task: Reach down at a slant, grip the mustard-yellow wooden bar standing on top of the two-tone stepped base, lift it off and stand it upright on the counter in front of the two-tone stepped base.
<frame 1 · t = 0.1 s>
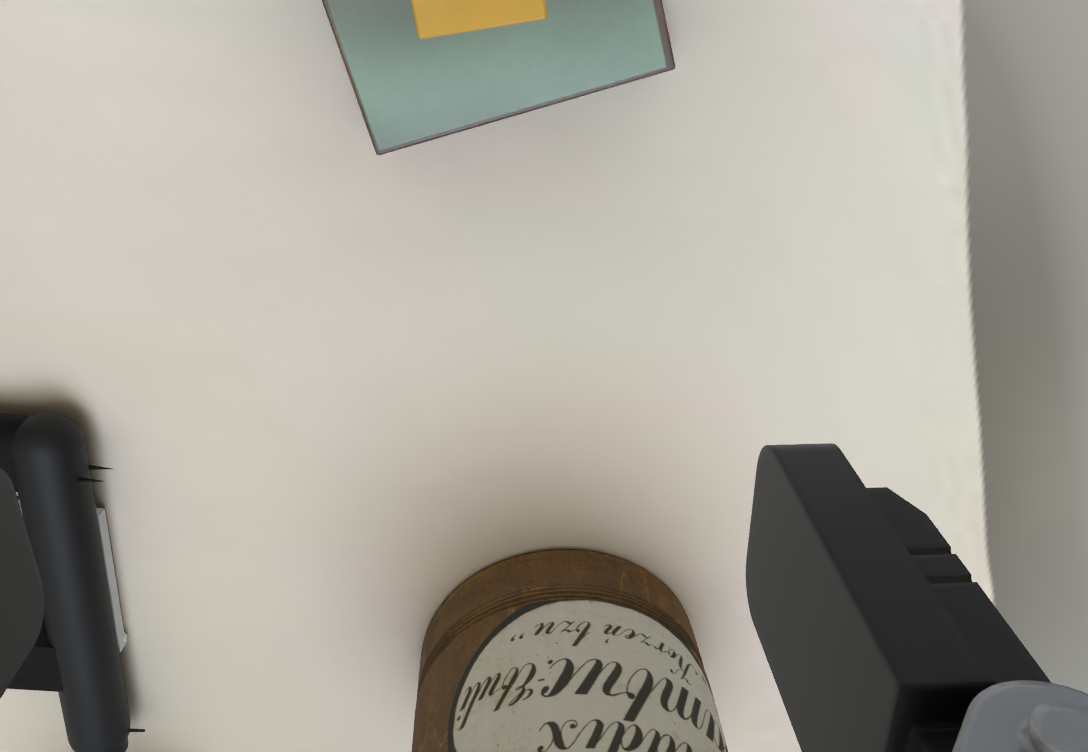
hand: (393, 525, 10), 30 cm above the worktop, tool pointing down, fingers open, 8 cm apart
wooden container: (558, 654, 50), on the worktop
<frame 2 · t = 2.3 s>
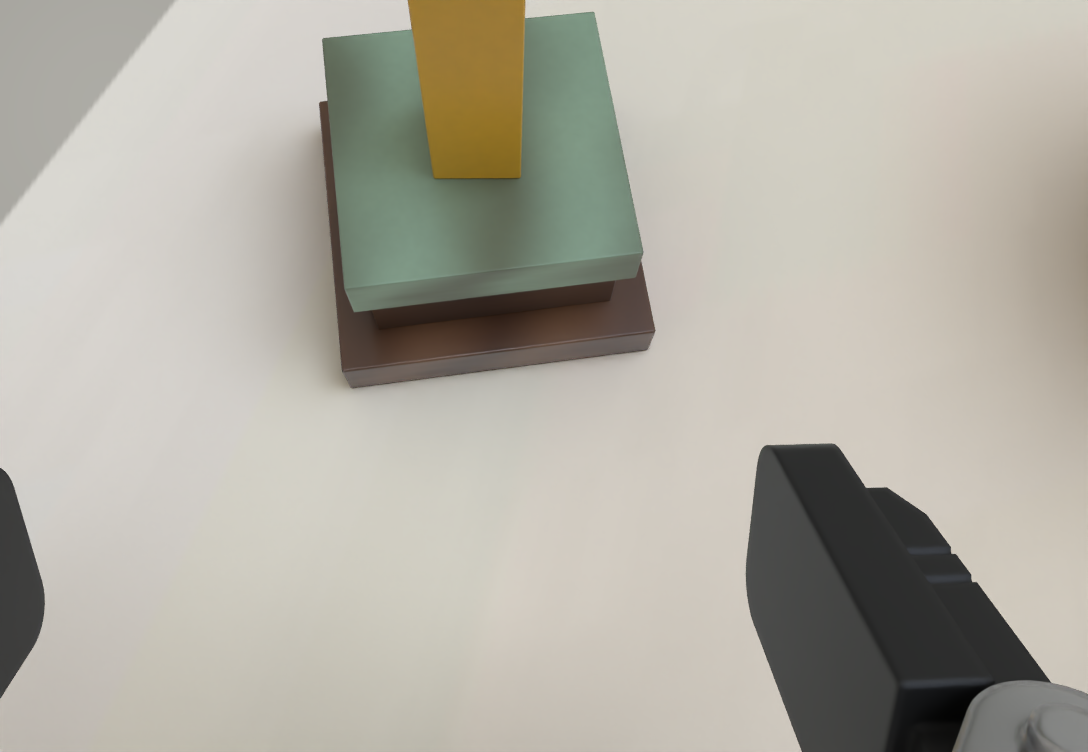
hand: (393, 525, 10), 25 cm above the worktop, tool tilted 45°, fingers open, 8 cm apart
bar: (477, 141, 32), point 7 cm above the worktop, touching two-tone stepped base
two-tone stepped base: (482, 235, 39), on the worktop
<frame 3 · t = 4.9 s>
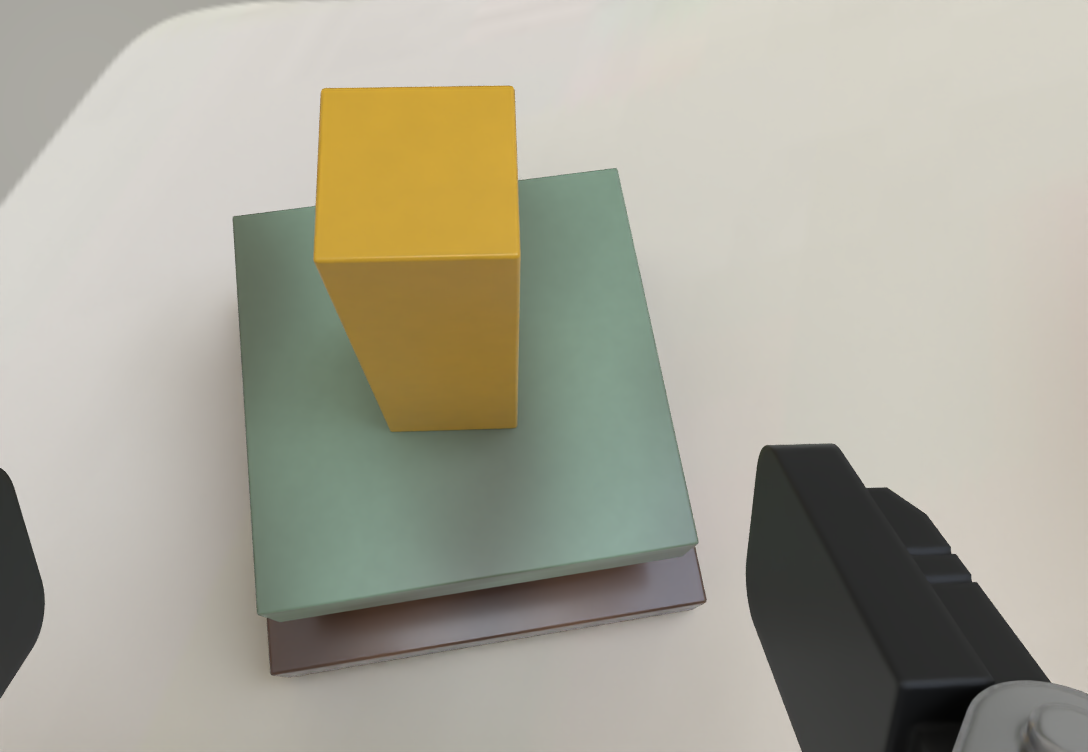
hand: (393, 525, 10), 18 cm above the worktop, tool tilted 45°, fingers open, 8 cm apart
bar: (453, 370, 22), point 7 cm above the worktop, touching two-tone stepped base
two-tone stepped base: (466, 446, 29), on the worktop
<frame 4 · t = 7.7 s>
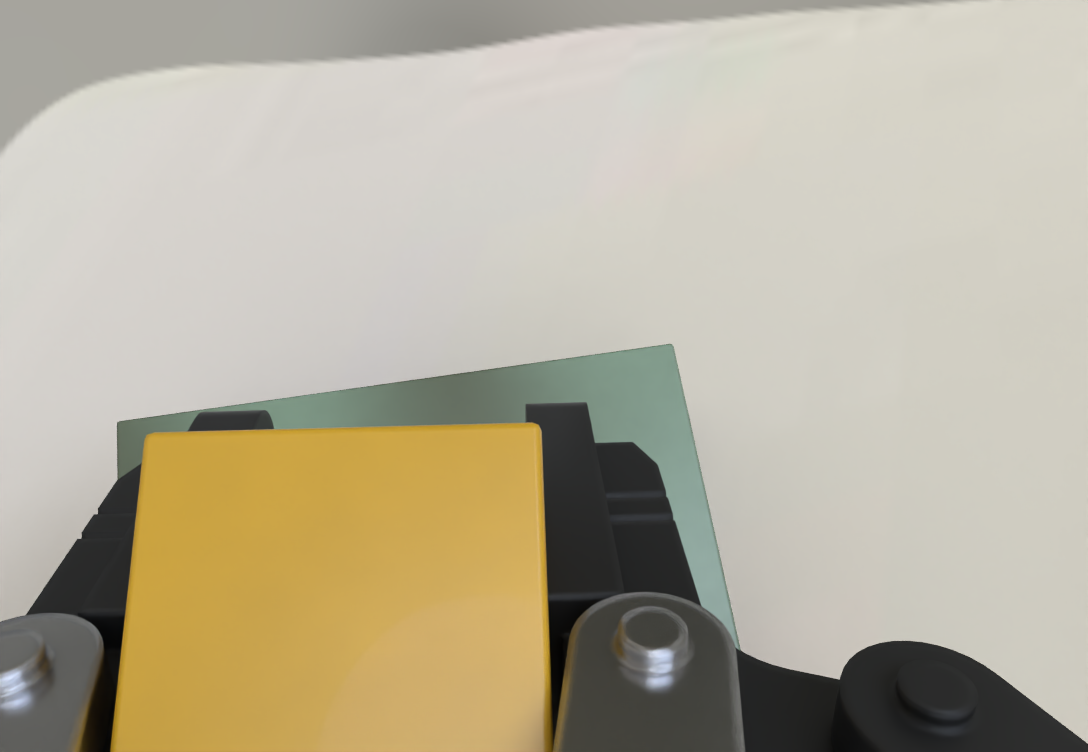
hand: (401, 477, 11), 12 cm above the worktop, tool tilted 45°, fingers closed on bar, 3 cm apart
bar: (435, 671, 15), point 7 cm above the worktop, touching gripper, two-tone stepped base
two-tone stepped base: (458, 678, 22), on the worktop
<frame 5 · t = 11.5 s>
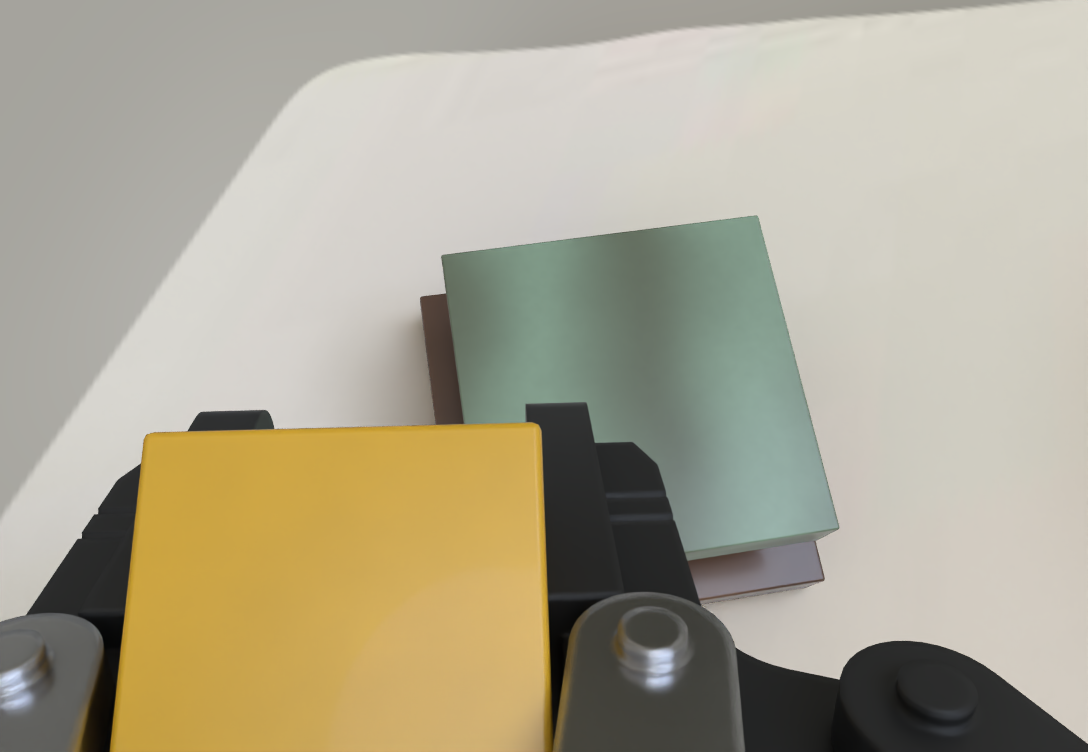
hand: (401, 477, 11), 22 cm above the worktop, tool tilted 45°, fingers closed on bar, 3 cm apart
bar: (435, 671, 15), point 17 cm above the worktop, touching gripper
two-tone stepped base: (608, 446, 34), on the worktop
when the fingers open (5 cm above the worktop, at t = 15.4 s): bar stays where it is, on the worktop.
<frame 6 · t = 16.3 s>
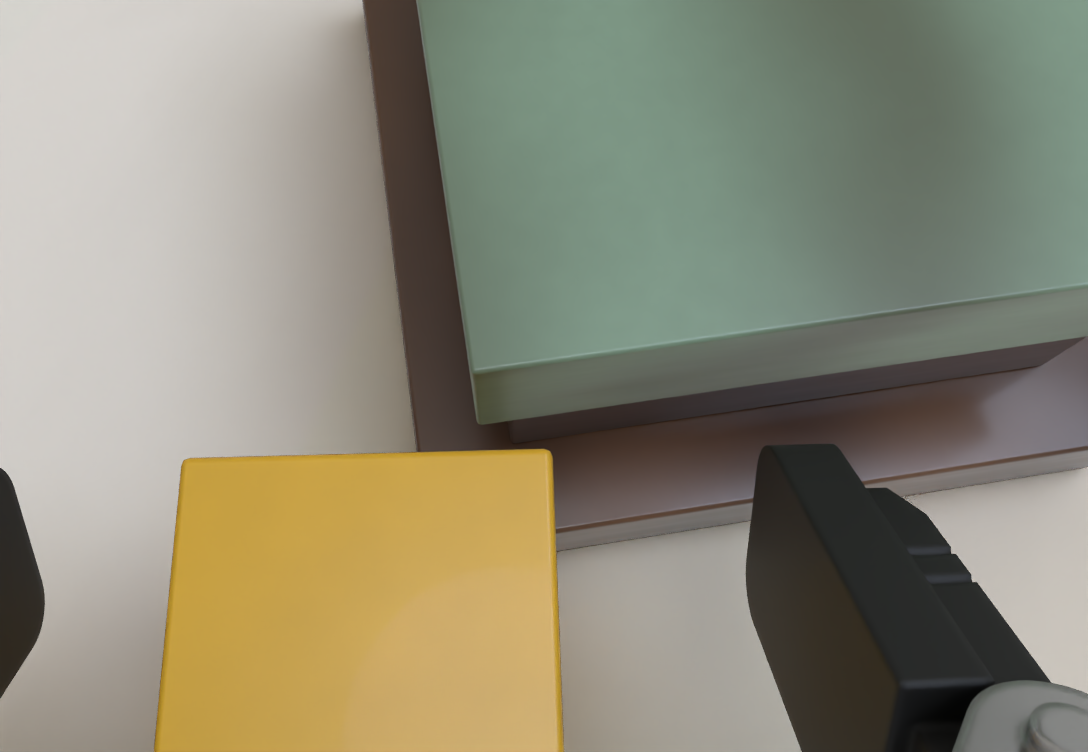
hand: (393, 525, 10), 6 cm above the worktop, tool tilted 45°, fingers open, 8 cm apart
bar: (445, 675, 15), on the worktop
two-tone stepped base: (701, 221, 18), on the worktop
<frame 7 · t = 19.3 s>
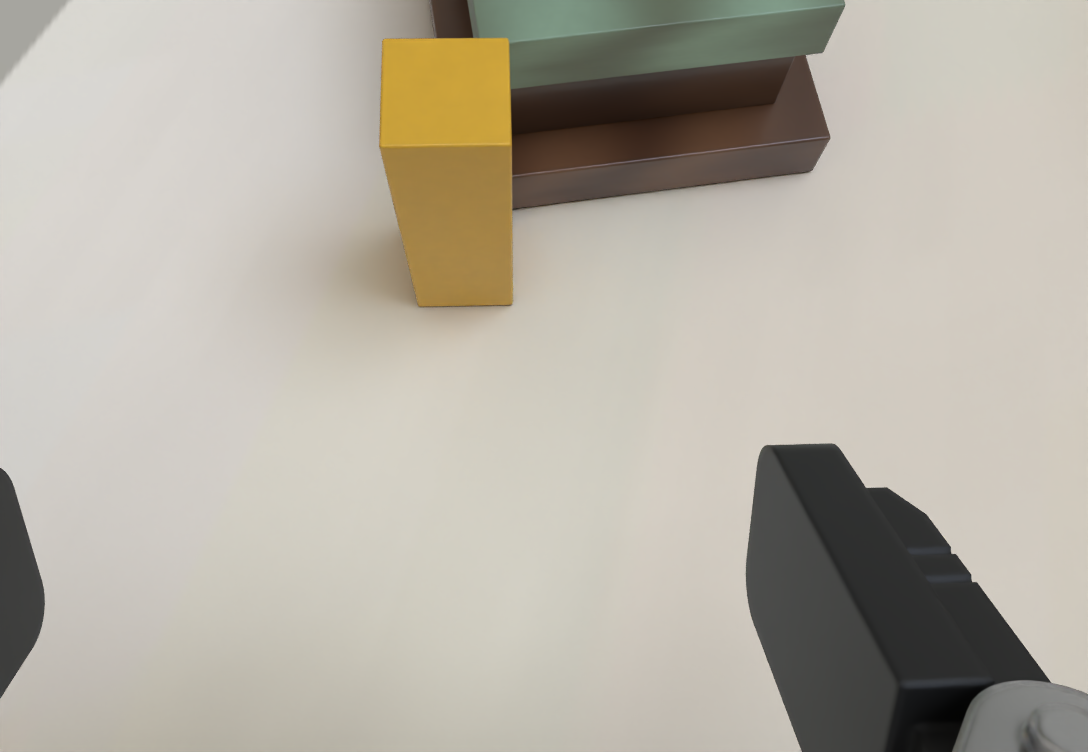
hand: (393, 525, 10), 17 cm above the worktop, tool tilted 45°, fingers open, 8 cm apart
bar: (465, 263, 30), on the worktop
two-tone stepped base: (607, 46, 33), on the worktop
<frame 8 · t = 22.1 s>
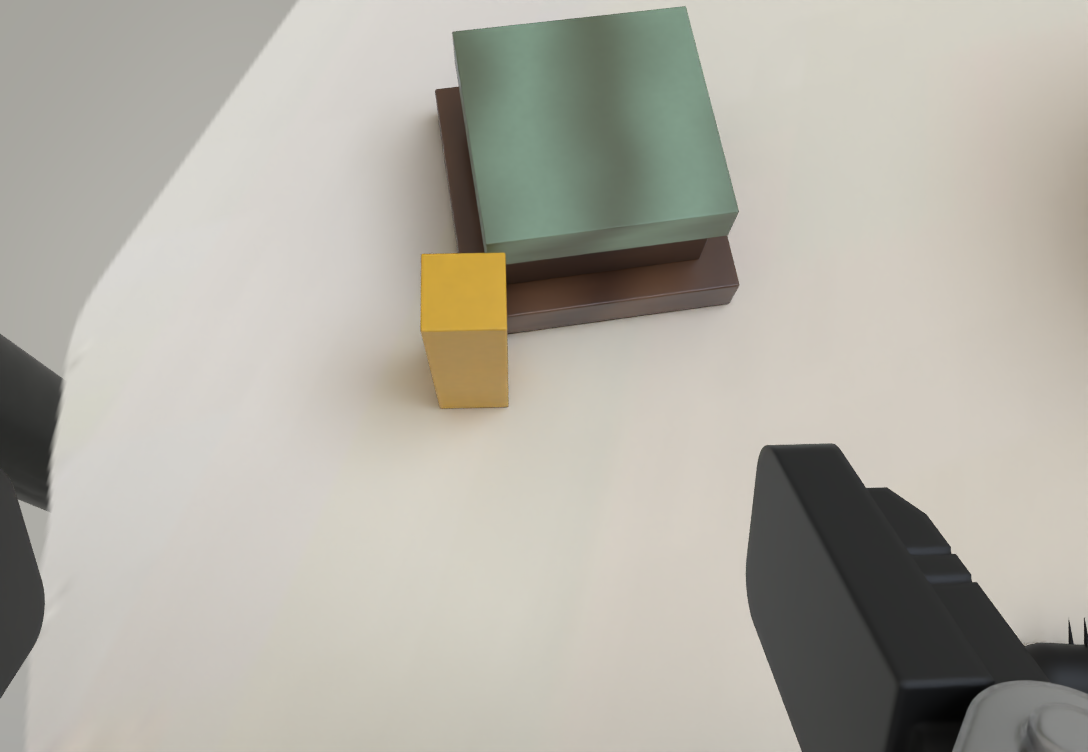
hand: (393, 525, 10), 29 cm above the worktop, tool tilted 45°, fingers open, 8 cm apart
bar: (473, 375, 41), on the worktop
two-tone stepped base: (579, 205, 44), on the worktop
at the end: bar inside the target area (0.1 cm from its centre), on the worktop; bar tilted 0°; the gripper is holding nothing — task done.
